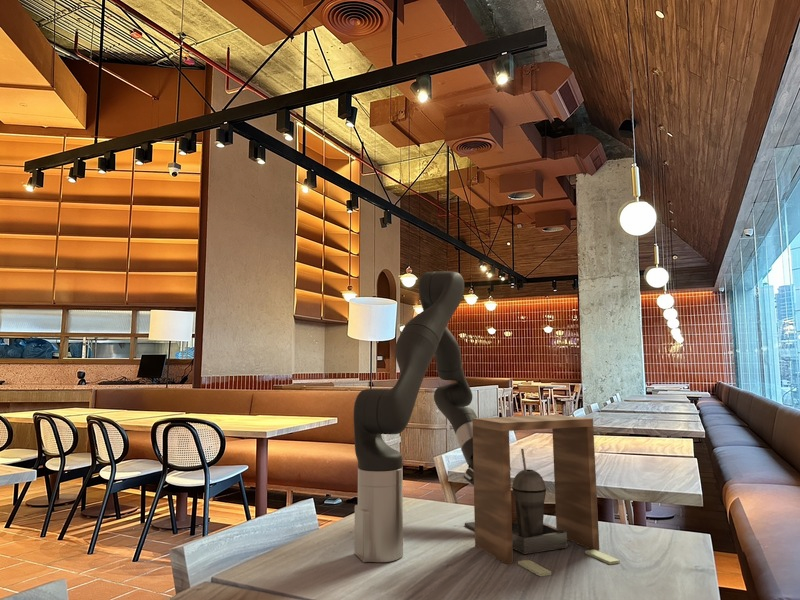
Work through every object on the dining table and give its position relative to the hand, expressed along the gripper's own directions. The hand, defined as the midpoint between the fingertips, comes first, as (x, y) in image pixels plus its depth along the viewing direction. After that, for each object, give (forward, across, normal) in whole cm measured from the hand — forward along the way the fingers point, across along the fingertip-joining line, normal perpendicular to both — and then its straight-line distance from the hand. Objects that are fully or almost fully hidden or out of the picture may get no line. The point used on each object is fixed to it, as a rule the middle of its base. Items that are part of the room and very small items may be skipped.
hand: (501, 504), depth 129 cm
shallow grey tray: (+11, 0, -3) cm, 12 cm away
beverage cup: (+12, 0, -4) cm, 13 cm away
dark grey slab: (+3, 0, +6) cm, 6 cm away
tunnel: (+14, 0, -5) cm, 15 cm away
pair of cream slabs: (+21, 0, -12) cm, 24 cm away
